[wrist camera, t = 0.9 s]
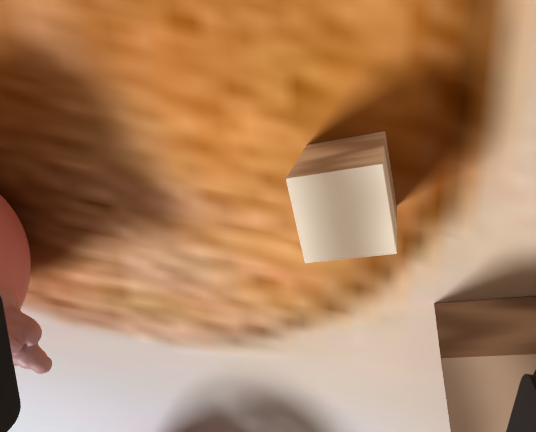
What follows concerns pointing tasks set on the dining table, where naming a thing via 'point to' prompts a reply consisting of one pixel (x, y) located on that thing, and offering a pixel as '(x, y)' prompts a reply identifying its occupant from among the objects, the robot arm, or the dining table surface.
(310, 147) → the birch block
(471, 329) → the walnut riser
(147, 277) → the dining table surface
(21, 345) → the balloon
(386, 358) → the dining table surface
